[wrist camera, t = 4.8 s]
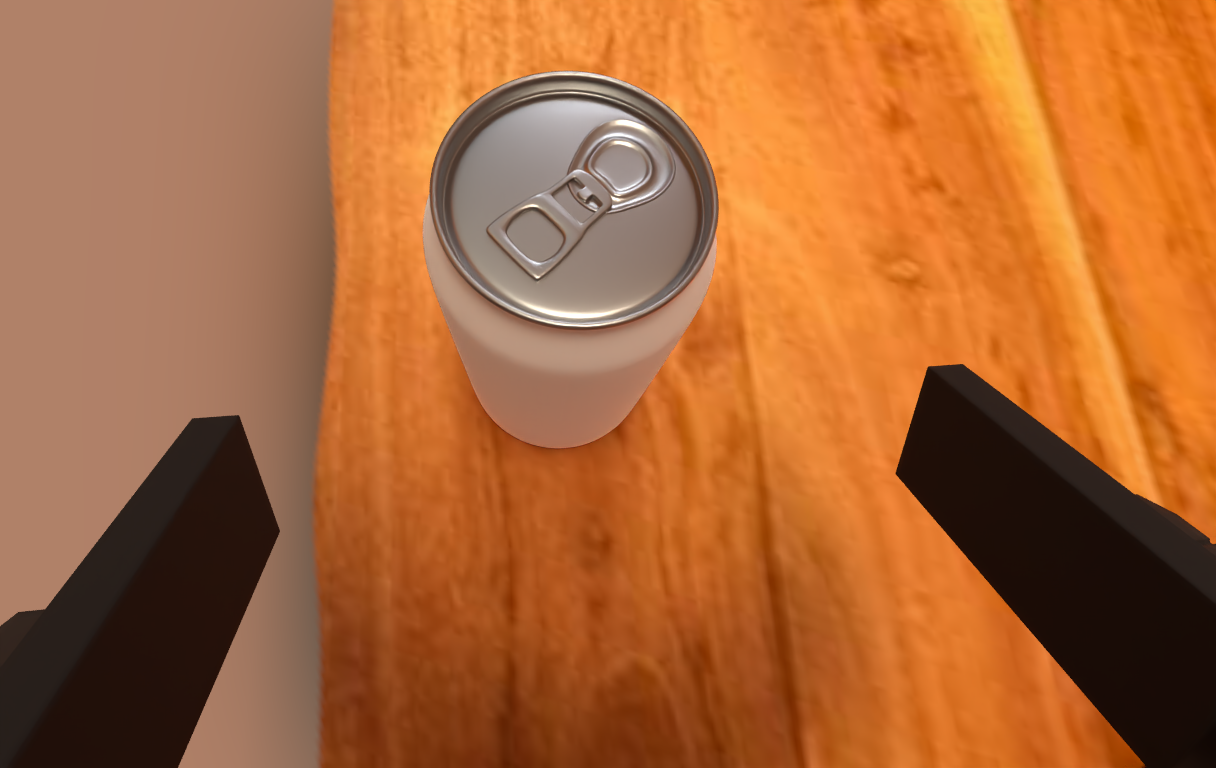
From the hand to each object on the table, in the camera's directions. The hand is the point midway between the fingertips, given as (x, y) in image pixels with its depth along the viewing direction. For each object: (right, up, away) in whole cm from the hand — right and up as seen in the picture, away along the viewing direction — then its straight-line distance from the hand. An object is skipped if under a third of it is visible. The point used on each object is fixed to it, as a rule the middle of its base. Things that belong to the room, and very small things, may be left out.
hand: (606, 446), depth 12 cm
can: (-2, +2, +11) cm, 12 cm away
